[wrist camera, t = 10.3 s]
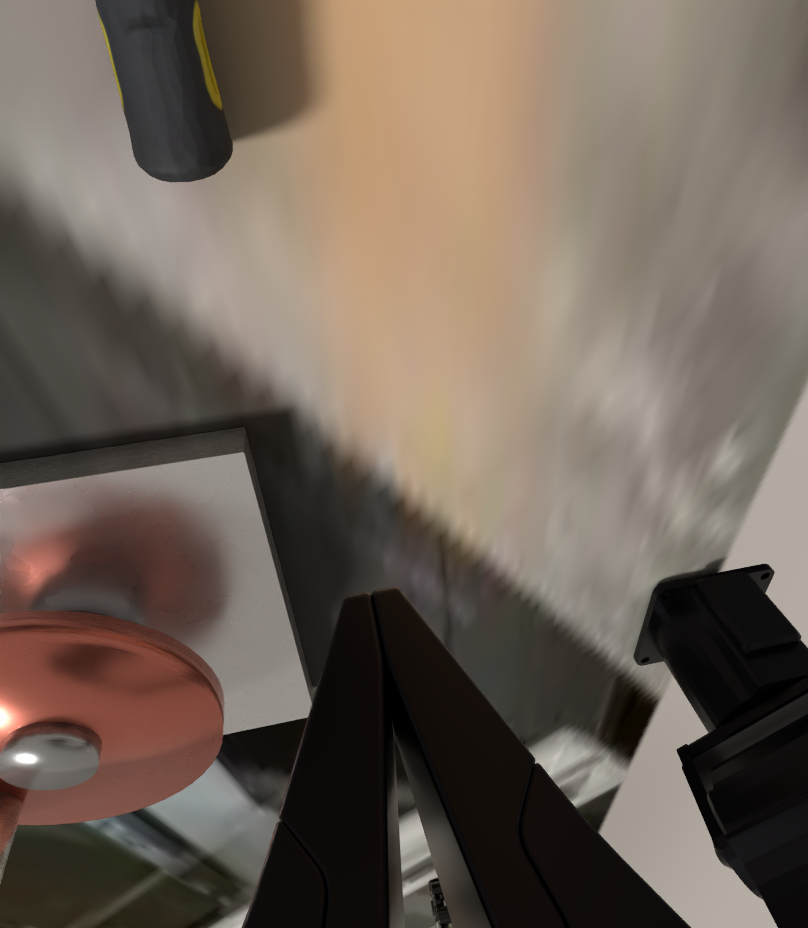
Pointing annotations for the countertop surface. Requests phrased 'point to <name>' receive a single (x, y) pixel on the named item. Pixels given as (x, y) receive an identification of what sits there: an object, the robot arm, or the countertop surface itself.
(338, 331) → the countertop surface
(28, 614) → the handwheel
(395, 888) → the robot arm
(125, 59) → the mallet
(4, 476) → the grey flat square slab
